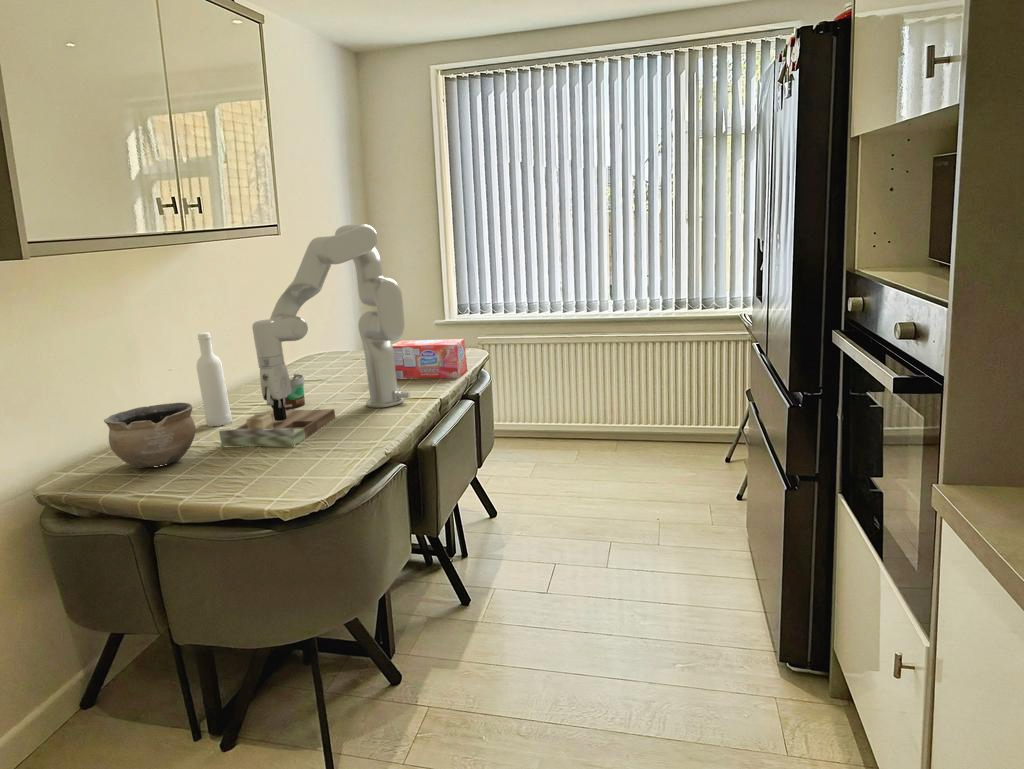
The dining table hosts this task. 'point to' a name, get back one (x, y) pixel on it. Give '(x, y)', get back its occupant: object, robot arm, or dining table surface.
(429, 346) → the box
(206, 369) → the bottle
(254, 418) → the maple block
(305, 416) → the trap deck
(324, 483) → the dining table surface
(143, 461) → the ceramic bowl
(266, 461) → the dining table surface
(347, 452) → the dining table surface
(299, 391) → the food container
